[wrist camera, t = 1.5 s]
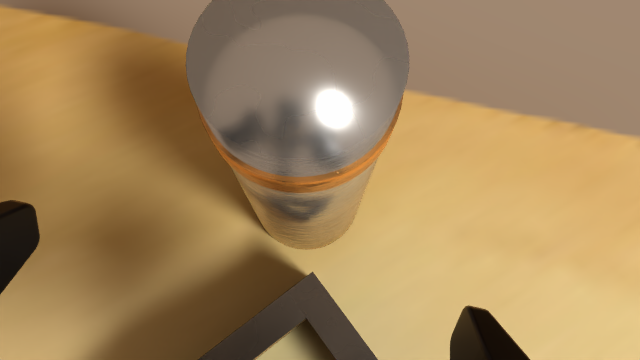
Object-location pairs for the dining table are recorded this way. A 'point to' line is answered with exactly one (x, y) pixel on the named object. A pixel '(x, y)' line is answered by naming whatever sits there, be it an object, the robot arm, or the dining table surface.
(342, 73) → the tube
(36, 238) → the robot arm
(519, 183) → the dining table surface
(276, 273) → the dining table surface
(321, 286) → the collar
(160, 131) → the dining table surface
